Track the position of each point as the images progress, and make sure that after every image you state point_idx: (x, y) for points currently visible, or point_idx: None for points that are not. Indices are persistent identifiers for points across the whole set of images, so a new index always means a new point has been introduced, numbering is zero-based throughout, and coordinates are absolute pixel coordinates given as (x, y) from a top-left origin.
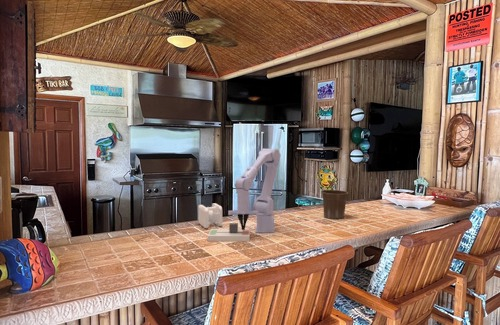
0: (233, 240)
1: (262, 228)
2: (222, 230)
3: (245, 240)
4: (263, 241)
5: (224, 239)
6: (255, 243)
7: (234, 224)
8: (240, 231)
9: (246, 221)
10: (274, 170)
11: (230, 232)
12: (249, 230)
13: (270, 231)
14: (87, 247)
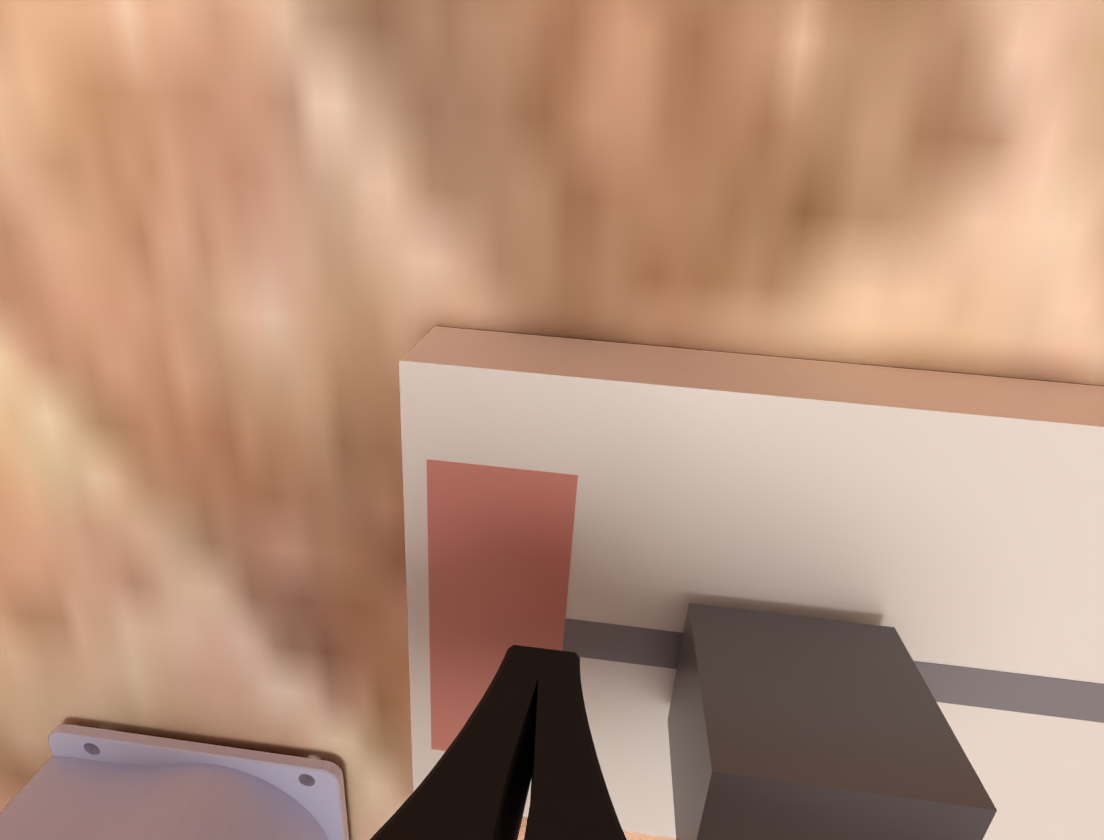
0: (790, 360)
1: (199, 816)
2: (1005, 810)
3: (518, 337)
4: (151, 291)
5: (1018, 389)
6: (298, 161)
7: (807, 821)
8: (610, 700)
9: (376, 835)
10: None
11: (867, 624)
12: (420, 734)
13: (104, 751)
14: None
